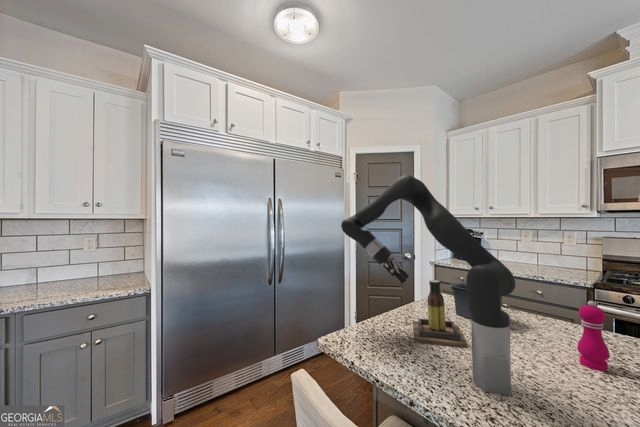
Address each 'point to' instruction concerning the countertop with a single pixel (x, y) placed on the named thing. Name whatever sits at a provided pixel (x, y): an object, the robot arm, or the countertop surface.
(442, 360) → the countertop surface
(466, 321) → the countertop surface
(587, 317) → the pepper mill
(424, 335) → the socket board
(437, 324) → the sauce bottle
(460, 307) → the storage bin
